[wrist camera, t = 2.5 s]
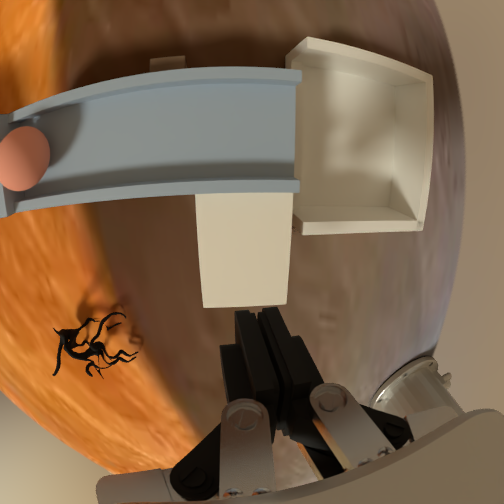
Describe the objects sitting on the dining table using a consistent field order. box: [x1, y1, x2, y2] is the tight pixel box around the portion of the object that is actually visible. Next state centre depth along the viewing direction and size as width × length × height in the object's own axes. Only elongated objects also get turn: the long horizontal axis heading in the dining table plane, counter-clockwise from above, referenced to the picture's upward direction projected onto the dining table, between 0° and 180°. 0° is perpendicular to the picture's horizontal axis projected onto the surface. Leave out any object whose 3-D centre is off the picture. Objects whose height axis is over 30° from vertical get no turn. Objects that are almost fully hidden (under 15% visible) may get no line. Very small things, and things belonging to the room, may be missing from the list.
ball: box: [0, 126, 50, 191], centre depth 10 cm, size 4×4×4 cm
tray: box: [285, 37, 434, 235], centre depth 17 cm, size 10×12×4 cm
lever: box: [0, 67, 302, 308], centre depth 13 cm, size 17×13×4 cm
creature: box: [52, 312, 138, 379], centre depth 20 cm, size 8×5×8 cm
